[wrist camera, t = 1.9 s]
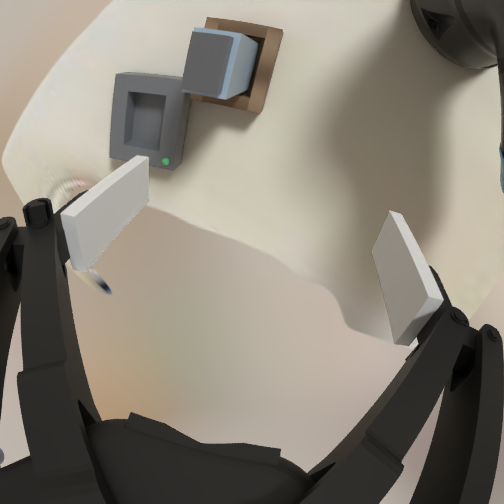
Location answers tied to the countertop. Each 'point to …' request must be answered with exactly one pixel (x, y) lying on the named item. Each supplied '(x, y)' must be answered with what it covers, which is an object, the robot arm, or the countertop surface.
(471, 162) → the countertop surface
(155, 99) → the port
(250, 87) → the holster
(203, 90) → the plug
